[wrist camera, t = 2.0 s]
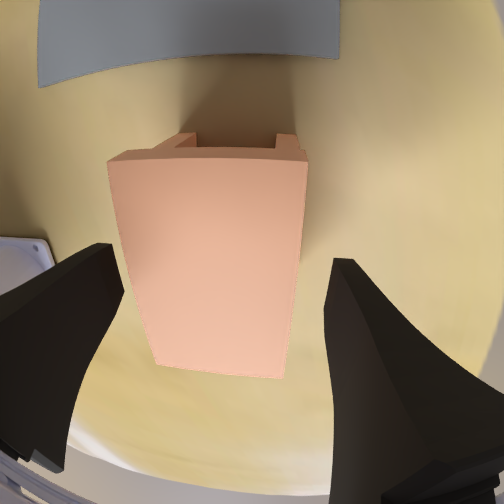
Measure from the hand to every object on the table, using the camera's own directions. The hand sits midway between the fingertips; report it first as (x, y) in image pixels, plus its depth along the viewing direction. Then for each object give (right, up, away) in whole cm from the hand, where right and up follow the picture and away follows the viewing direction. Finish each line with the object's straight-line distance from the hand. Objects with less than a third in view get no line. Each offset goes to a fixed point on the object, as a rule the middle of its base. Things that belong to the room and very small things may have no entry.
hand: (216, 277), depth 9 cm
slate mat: (-2, +14, -2) cm, 14 cm away
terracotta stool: (0, +3, +4) cm, 5 cm away
